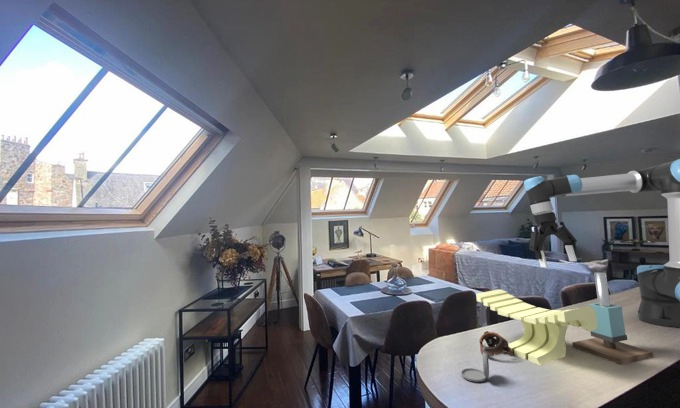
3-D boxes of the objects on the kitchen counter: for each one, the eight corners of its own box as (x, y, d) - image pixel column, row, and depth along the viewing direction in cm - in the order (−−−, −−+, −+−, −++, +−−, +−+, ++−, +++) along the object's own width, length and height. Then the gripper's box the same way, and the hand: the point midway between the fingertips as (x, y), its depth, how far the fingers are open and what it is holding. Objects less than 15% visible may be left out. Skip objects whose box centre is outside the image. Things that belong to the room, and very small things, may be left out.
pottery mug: (521, 361, 92) (511, 341, 91) (495, 375, 93) (484, 355, 91) (500, 338, 104) (490, 320, 103) (476, 350, 104) (467, 332, 103)
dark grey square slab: (604, 333, 98) (604, 328, 99) (627, 339, 92) (626, 334, 92) (591, 335, 97) (590, 331, 97) (613, 342, 91) (612, 337, 91)
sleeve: (604, 328, 98) (600, 302, 99) (625, 334, 93) (621, 306, 93) (591, 331, 97) (587, 304, 98) (612, 337, 91) (608, 308, 92)
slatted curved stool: (602, 363, 87) (594, 303, 88) (572, 377, 80) (563, 312, 82) (509, 333, 114) (504, 288, 116) (480, 342, 107) (476, 293, 109)
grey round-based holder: (457, 372, 86) (454, 338, 87) (483, 370, 87) (480, 336, 88) (472, 387, 78) (468, 349, 79) (501, 384, 79) (497, 346, 80)
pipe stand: (602, 340, 103) (592, 268, 105) (653, 356, 89) (640, 273, 92) (572, 346, 99) (563, 272, 102) (620, 364, 86) (608, 278, 88)
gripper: (561, 210, 125) (576, 258, 122) (510, 219, 122) (525, 269, 118) (577, 207, 118) (594, 258, 114) (523, 216, 115) (539, 269, 111)
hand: (559, 264), depth 116 cm, fingers open, 13 cm apart
